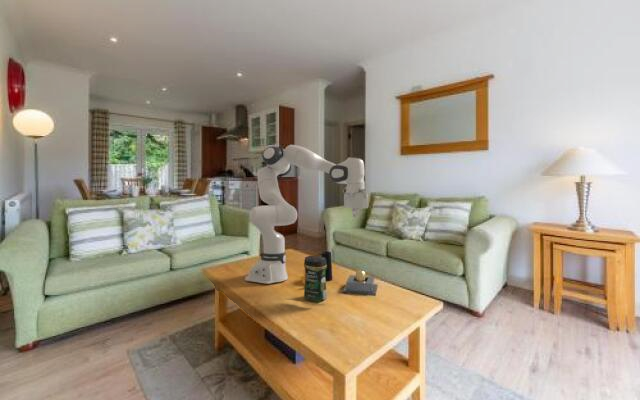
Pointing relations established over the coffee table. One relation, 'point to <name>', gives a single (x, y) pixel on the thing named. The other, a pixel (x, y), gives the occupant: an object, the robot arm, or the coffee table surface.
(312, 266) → the coffee jar
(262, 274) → the robot arm
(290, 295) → the coffee table surface
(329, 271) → the pipe connector
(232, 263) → the coffee table surface
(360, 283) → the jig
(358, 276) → the tan cylinder
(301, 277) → the pipe clamp
